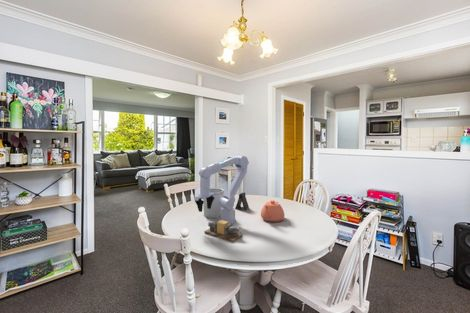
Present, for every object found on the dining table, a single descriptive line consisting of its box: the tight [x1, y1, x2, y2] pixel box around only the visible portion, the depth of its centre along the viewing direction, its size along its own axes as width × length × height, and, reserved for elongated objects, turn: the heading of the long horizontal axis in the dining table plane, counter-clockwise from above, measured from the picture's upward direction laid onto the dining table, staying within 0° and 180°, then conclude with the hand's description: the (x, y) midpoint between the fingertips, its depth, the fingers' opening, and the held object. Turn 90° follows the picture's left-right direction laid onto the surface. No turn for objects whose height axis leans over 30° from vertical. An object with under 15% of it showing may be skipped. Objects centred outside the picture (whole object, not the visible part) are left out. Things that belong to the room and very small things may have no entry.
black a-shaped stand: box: [234, 192, 250, 211], centre depth 176 cm, size 9×6×12 cm, turn 64°
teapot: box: [260, 199, 285, 223], centre depth 153 cm, size 22×16×12 cm
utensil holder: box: [202, 187, 225, 218], centre depth 162 cm, size 15×15×18 cm
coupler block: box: [216, 219, 228, 235], centre depth 129 cm, size 5×4×6 cm
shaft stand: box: [203, 220, 244, 243], centre depth 128 cm, size 20×9×6 cm, turn 55°
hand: (204, 210), depth 139 cm, fingers open, 7 cm apart
